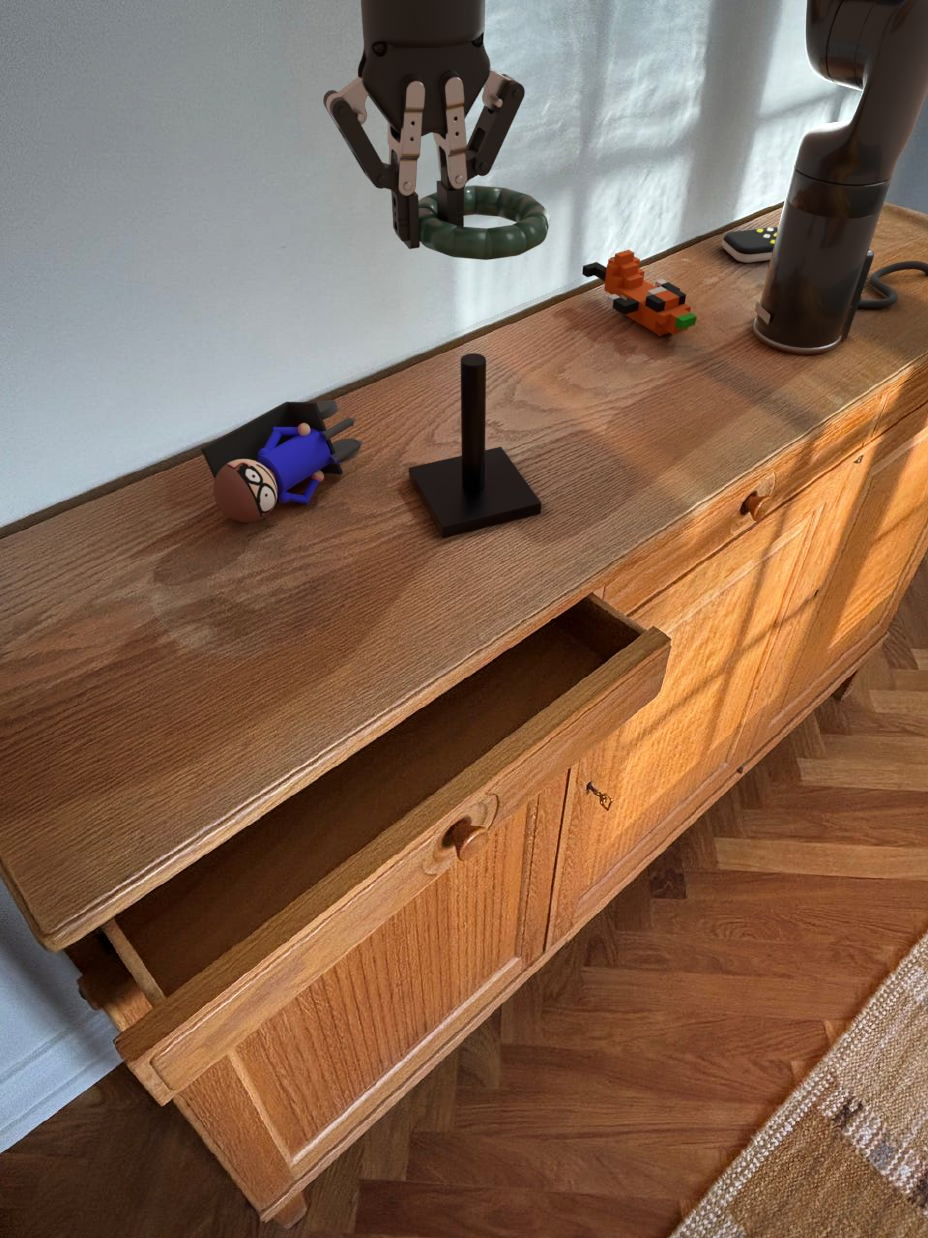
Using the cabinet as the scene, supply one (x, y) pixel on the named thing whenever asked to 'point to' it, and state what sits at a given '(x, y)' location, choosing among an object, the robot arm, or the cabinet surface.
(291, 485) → the character figurine
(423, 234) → the ring
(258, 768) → the cabinet surface
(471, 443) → the post
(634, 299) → the toy
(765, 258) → the remote control
